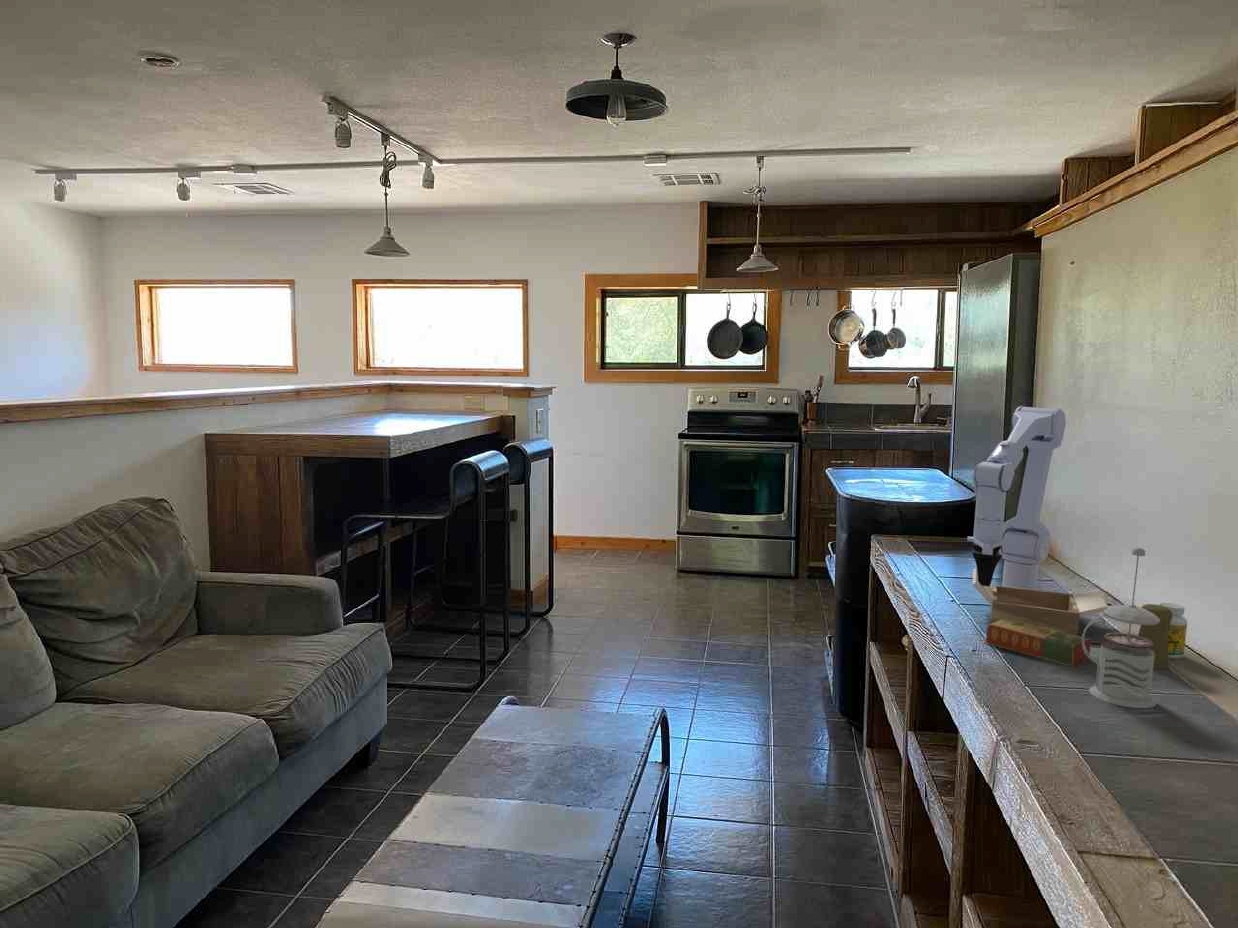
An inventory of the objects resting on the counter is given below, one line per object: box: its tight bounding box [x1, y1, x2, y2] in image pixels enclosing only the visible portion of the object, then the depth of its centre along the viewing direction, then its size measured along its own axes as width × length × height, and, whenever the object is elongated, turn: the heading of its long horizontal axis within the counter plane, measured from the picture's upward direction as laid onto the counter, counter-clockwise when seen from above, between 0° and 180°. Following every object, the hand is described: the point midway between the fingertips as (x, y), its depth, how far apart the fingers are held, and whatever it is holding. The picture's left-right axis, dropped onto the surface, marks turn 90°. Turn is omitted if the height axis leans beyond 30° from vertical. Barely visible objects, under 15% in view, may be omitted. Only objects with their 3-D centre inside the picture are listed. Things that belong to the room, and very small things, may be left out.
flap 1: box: [972, 567, 994, 604], centre depth 193 cm, size 15×5×1 cm
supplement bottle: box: [1159, 602, 1188, 660], centre depth 171 cm, size 5×5×10 cm
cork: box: [1132, 603, 1172, 671], centre depth 165 cm, size 6×6×11 cm
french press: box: [1081, 547, 1160, 709], centre depth 148 cm, size 10×12×25 cm
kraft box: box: [989, 584, 1081, 636], centre depth 190 cm, size 16×16×5 cm
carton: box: [985, 618, 1091, 668], centre depth 171 cm, size 8×16×4 cm, turn 42°
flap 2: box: [1073, 588, 1109, 617], centre depth 185 cm, size 15×5×1 cm, turn 158°
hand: (984, 581), depth 193 cm, fingers open, 7 cm apart
